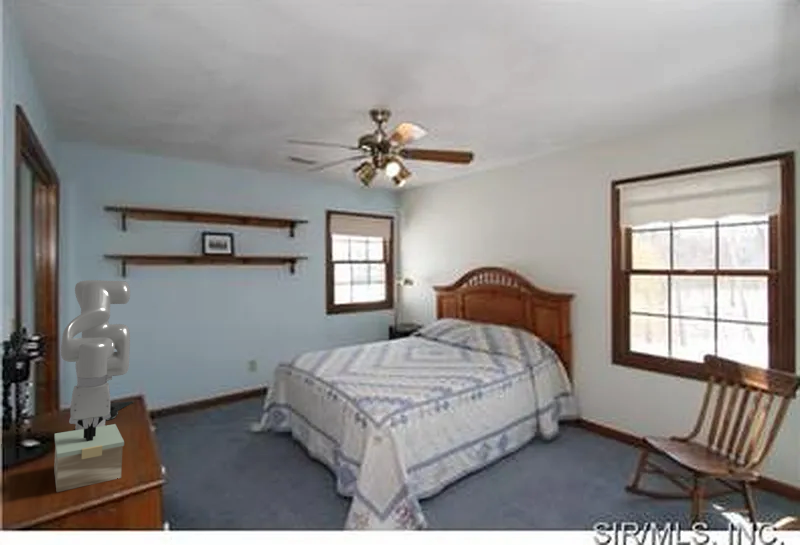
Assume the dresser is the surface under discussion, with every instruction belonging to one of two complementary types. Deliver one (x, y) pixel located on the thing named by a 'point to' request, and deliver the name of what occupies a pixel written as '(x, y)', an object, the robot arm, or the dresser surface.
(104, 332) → the robot arm
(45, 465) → the dresser surface
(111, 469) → the box
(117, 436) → the lid
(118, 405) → the sculpture
